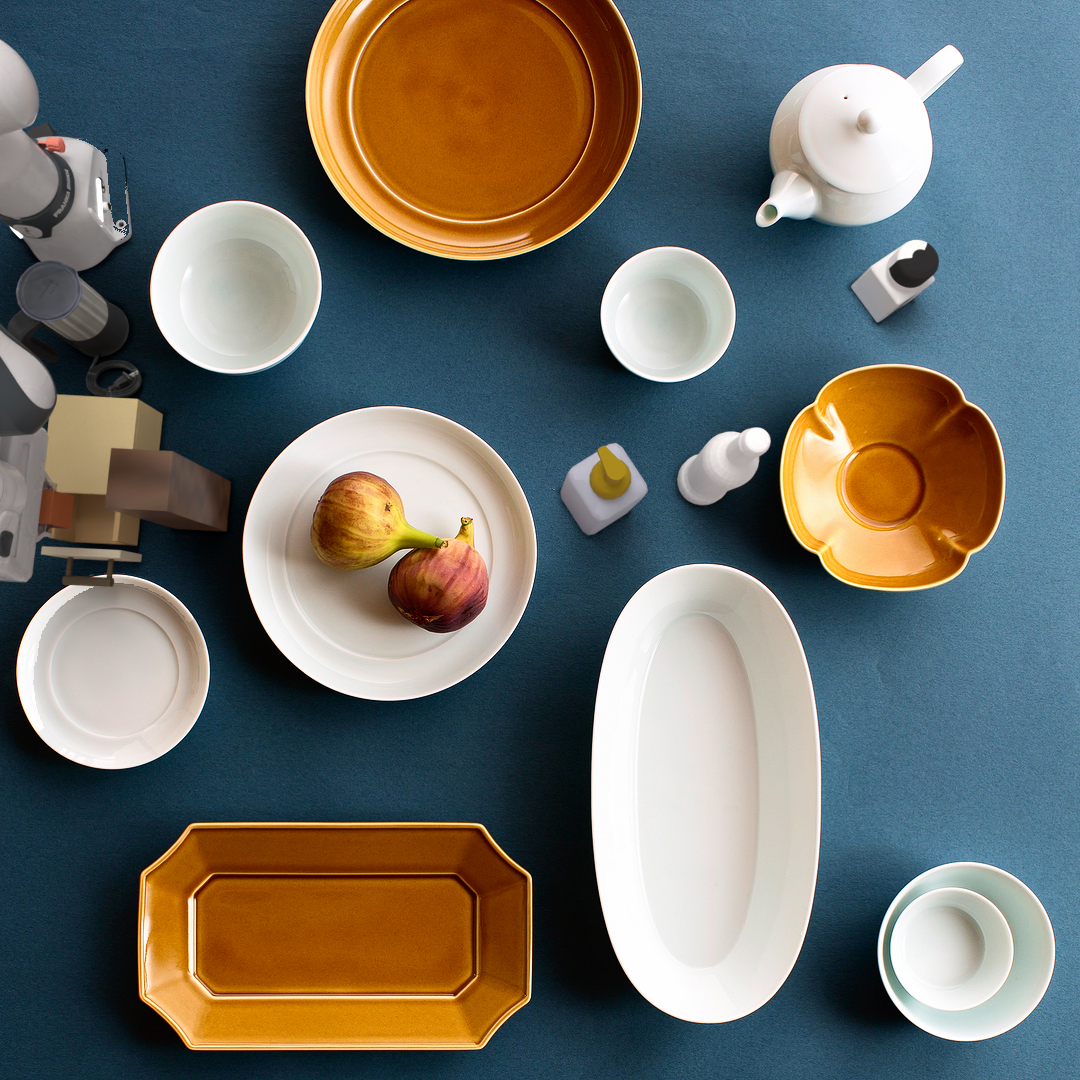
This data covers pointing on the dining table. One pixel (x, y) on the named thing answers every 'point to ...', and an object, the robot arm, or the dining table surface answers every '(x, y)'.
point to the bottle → (722, 465)
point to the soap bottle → (602, 488)
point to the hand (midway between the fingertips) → (48, 510)
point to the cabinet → (95, 438)
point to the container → (897, 278)
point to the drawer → (95, 538)
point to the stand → (167, 490)
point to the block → (56, 509)
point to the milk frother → (72, 322)
